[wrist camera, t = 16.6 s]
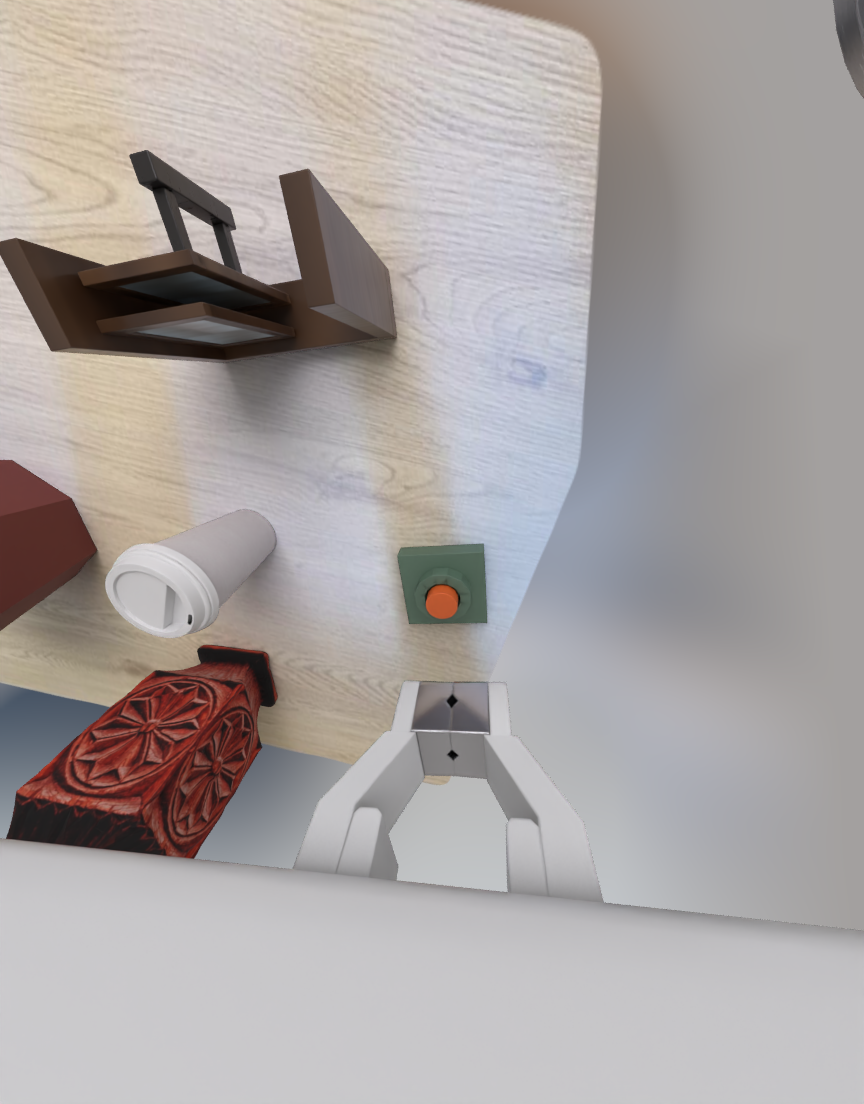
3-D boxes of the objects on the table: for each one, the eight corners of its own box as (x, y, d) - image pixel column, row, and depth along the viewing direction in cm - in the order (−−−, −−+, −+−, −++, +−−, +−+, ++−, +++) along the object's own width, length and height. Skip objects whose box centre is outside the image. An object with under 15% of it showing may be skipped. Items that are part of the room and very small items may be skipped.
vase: (191, 633, 52) (-106, 895, 26) (275, 644, 51) (57, 930, 25) (212, 694, 58) (-7, 955, 32) (287, 705, 57) (126, 985, 31)
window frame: (388, 269, 29) (308, 167, 15) (397, 337, 31) (335, 303, 17) (203, 302, 31) (-7, 242, 18) (223, 363, 34) (50, 351, 20)
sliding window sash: (271, 222, 27) (148, 128, 17) (291, 304, 29) (193, 264, 19) (188, 240, 28) (26, 162, 18) (213, 317, 30) (83, 286, 20)
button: (457, 583, 38) (456, 592, 37) (459, 609, 40) (458, 618, 38) (425, 584, 39) (423, 593, 37) (429, 610, 40) (427, 619, 39)
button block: (483, 543, 39) (484, 559, 36) (486, 612, 44) (487, 632, 40) (400, 547, 41) (393, 563, 37) (412, 613, 45) (406, 633, 42)
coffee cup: (261, 578, 46) (174, 660, 32) (201, 528, 43) (79, 595, 30) (302, 538, 42) (222, 611, 29) (239, 481, 39) (119, 532, 26)
